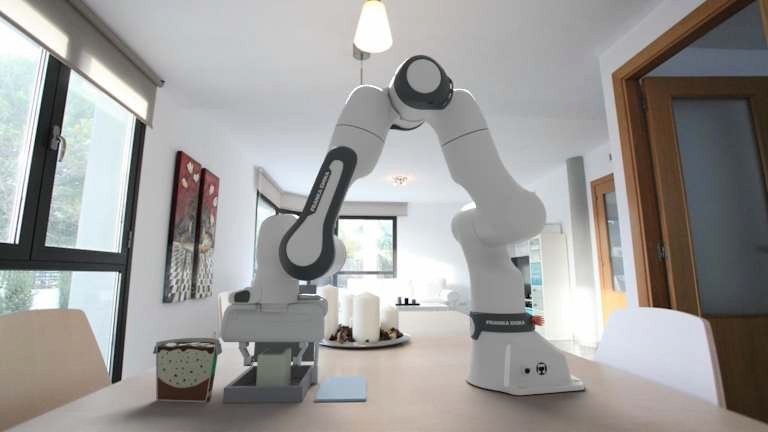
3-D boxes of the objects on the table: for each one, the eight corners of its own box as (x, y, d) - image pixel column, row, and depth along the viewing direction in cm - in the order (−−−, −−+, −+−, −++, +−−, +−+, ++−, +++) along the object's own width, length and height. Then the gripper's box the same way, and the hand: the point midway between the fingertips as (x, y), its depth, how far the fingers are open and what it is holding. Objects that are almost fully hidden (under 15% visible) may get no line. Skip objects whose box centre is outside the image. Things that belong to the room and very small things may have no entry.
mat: (365, 378, 82) (365, 376, 82) (366, 400, 67) (366, 398, 67) (323, 378, 82) (323, 376, 82) (314, 401, 67) (314, 399, 67)
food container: (231, 392, 72) (235, 337, 74) (214, 402, 66) (218, 343, 68) (170, 390, 74) (175, 336, 75) (148, 400, 68) (153, 342, 69)
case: (320, 375, 84) (322, 314, 86) (308, 401, 67) (311, 324, 69) (252, 376, 84) (255, 314, 86) (222, 403, 66) (227, 324, 68)
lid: (313, 361, 84) (314, 360, 85) (316, 284, 88) (317, 285, 89) (253, 362, 83) (255, 361, 84) (258, 284, 87) (260, 285, 88)
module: (290, 383, 78) (291, 346, 79) (283, 394, 71) (284, 353, 72) (265, 384, 78) (267, 347, 79) (255, 394, 71) (257, 353, 72)
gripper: (329, 293, 81) (327, 361, 79) (231, 292, 80) (226, 362, 78) (326, 295, 75) (324, 369, 72) (220, 294, 74) (214, 369, 71)
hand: (272, 365), depth 75 cm, fingers open, 8 cm apart
